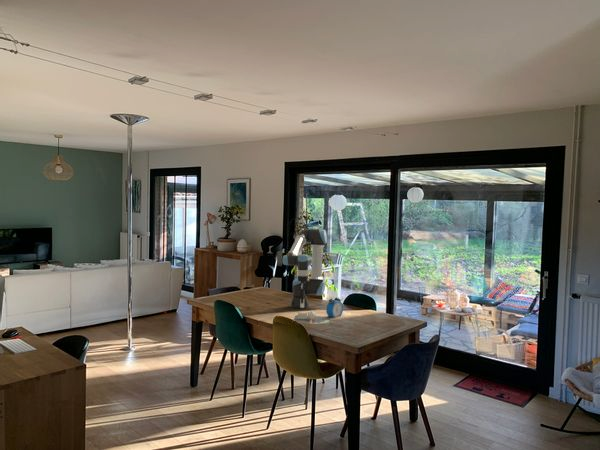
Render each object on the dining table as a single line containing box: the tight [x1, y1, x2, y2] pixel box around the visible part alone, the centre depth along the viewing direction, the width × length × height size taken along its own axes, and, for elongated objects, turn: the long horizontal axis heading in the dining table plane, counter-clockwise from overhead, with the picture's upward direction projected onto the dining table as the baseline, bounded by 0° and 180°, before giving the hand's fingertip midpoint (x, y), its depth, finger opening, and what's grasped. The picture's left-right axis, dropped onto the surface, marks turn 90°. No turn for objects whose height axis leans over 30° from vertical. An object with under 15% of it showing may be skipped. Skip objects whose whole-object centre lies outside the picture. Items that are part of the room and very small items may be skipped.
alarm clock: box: [325, 297, 344, 318], centre depth 346 cm, size 13×6×15 cm, turn 136°
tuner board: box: [293, 314, 331, 325], centre depth 333 cm, size 24×26×2 cm
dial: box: [297, 309, 317, 325], centre depth 330 cm, size 16×13×6 cm
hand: (302, 307), depth 340 cm, fingers closed
